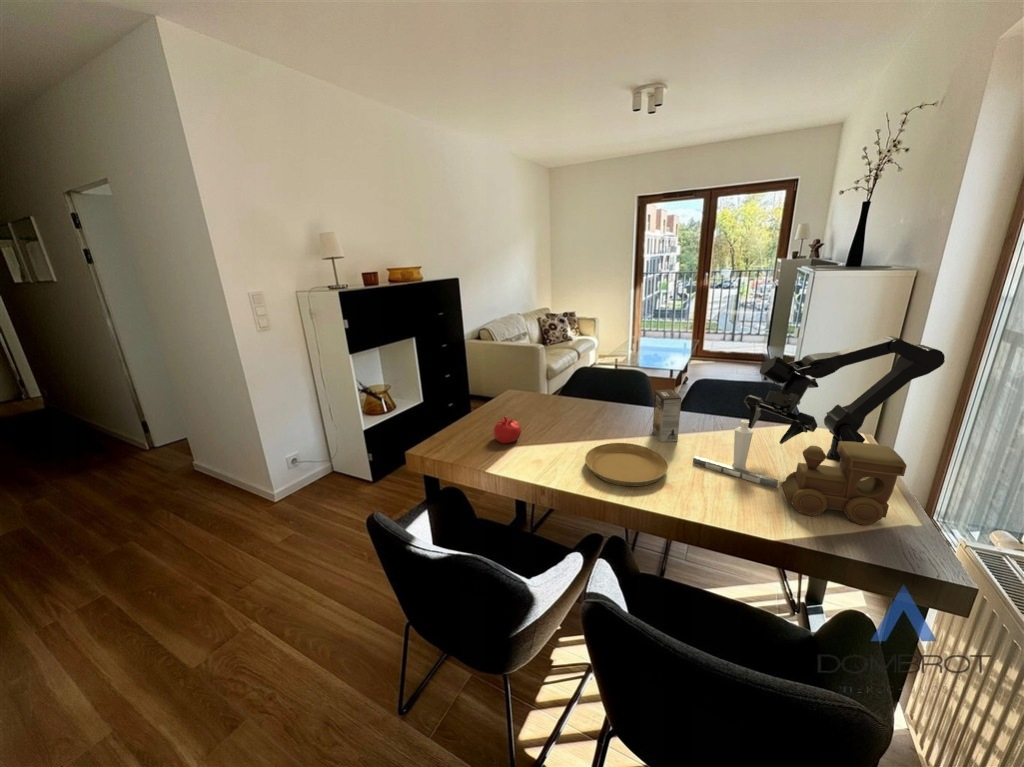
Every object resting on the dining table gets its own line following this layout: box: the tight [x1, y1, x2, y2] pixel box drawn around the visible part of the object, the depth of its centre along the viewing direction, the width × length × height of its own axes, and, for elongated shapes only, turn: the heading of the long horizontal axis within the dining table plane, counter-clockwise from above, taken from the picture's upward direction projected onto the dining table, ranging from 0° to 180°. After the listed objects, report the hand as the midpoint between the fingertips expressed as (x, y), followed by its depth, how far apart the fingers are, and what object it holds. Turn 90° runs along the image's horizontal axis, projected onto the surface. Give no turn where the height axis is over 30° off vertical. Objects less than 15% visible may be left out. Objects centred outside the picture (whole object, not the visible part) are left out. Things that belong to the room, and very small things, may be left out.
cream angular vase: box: [731, 419, 754, 471], centre depth 117 cm, size 5×4×15 cm
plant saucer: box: [584, 442, 669, 487], centre depth 122 cm, size 24×24×3 cm
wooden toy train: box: [781, 441, 908, 526], centre depth 97 cm, size 20×11×17 cm, turn 66°
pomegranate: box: [493, 416, 522, 444], centre depth 145 cm, size 10×10×9 cm
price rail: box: [692, 455, 779, 490], centre depth 116 cm, size 2×22×2 cm, turn 45°
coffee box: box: [652, 388, 682, 442], centre depth 140 cm, size 9×6×16 cm
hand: (763, 436), depth 119 cm, fingers open, 9 cm apart
